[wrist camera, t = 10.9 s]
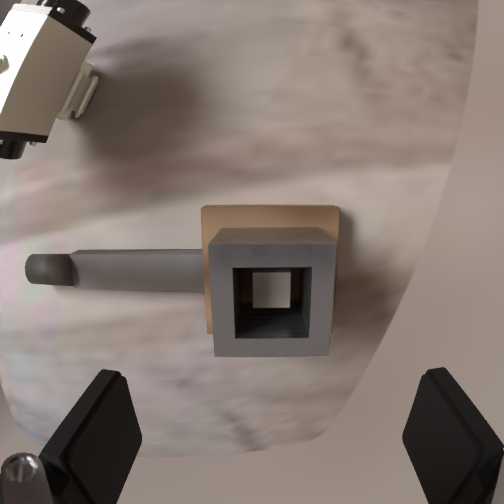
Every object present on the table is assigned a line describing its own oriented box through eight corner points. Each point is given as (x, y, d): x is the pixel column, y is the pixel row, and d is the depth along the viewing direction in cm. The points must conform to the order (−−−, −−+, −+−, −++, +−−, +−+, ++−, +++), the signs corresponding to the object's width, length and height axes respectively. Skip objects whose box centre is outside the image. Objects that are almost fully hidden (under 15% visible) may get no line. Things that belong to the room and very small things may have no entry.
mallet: (36, 214, 26) (-1, 223, 21) (333, 205, 25) (351, 212, 20) (50, 312, 28) (20, 334, 23) (327, 322, 27) (340, 354, 22)
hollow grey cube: (221, 227, 24) (207, 244, 18) (318, 227, 23) (336, 243, 18) (225, 317, 25) (214, 356, 19) (314, 316, 25) (328, 355, 19)
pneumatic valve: (129, 42, 22) (57, -19, 11) (71, 161, 25) (-27, 162, 13) (86, 30, 22) (10, -20, 10) (33, 141, 24) (-61, 137, 13)
